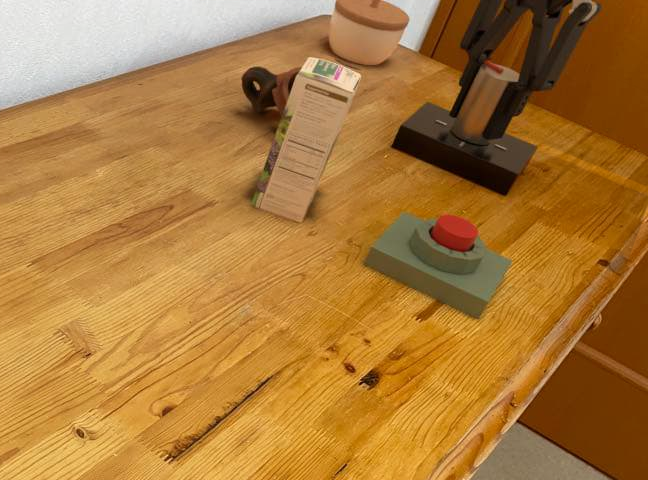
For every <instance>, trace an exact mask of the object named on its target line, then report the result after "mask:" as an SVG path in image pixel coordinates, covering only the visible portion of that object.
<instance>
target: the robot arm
mask: <svg viewBox="0 0 648 480" xmlns="http://www.w3.org/2000/svg"><path fill="white" fill-rule="evenodd" d="M502 3H503V7H502V9H501V10H500V11H499V9H500V7H501V5H502ZM570 4H572V5H571V8H569V9H568V10H567V11H568V14H569V15H568V17H567V18H566V19H565V21H564V22H563V24H562V26H561V27H560V29H559V32H558V33H557V35H556V37H555V39H554V41H553V38H554V35H555V32H556V27H557V26H558V25H559V24H560V23H561V19H562V16H563V13H564V9H565V8H566V7H567V6H569V5H570ZM601 10H602V4H601V2H599V1H593V0H479V1H478V3H477V7H476V9H475V10H474V12H473V15H472V17H471V18H470V19H471V20H470V22H469V23H468V26H467V27H466V30H465V32H464V34H463V36H462V38H461V41H460V43H459V47H460V49H461V50H463V51H465V53H466V54H467V57H468V60H467V63H466V65H465V67H464V70H463V72H462V74H461V76H460V78H459V80H458V86H459V87H461V88H460V90H459V92H458V94H457V96H456V99H455V100H454V103H453V105H452V107H451V109H450V113H449V116H451V117H452V118H456V117H457V115H458V113H459V111H460V108H461V106H462V104H463V102H464V100H465V98H466V96H467V94H468V92H469V90H470V88H471V86H472V83H473V81H474V79H475V77H476V75H477V73H478V71H479V69H480V67H481V65H482V64H485V62H486V61H491V60H493V57H492V55H493V54H494V53H495V51H496V50H497V49H498V47H499V46H500V45H501V44H502V42H503V41H504V39H505V38H506V37H507V36H508V34H509V33H510V31H512V29H513V27H514V26H515V25H516V24H517V22H518V21H519V20H520V19H521V17H522V16H523V14H525V13H526V12H528V11H530V12H531V13H532V14H533V15H532V18H531V24H532V28H531V32H530V35H529V39H528V43H527V46H526V49H525V50H526V51H525V54H524V56H523V61H522V65H521V68H520V72H519V74H520V75H519V79H518V82H517V84H513V85H509V87H508V89H507V91H506V93H505V95H504V97H503V99H502V101H501V102H500V104H499V106H498V108H497V110H496V112H495V114H494V116H493V118H492V120H491V122H490V124H489V126H488V128H487V130H486V132H485V134H484V136H483V138H485V139H486V140H492V139H499V138H502V137H503V135H504V133H506V131H507V129H508V127H509V125H510V123H511V121H512V120H513V118H514V117H515V118H516V117H519V116H520V115H522V114H523V111H524V110H525V108H526V105H527V104H528V102H529V100H530V98H531V97H532V94H533V93H534V92H545V91H551V90H554V88H555V86H556V84H557V83H558V80H559V79H560V76H561V75H562V73H563V71H564V69H565V67H566V66H567V63H568V62H569V60H570V57H571V56H572V54H573V52H574V51H575V48H576V46H577V44H578V43H579V40H580V39H581V37H582V35H583V33H584V32H585V30H586V27H587V26H588V25H589V23H591V22H592V20H593V19H594V18H595V17H596V16H598V14H599V13H600V12H601ZM498 11H499V13H498ZM552 42H553V43H552ZM551 44H552V45H551Z"/></svg>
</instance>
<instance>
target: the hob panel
mask: <svg viewBox="0 0 648 480" xmlns="http://www.w3.org/2000/svg"><path fill="white" fill-rule="evenodd" d="M450 111H451V109H450V110H449V109H447V108H445V107H442V106H440V105H437V104H435V103H432V102H430V101H426V102H425V103H424V104H423V105H422V106H420V108H418V109H416V111H415V112H414V113H412V114H411V115H410V116H409V117H408V118H406V120H404V121H403V122H402V123H401V124H400V125H399V127H398V129H397V132H396V134H395V137H394V139H393V142H392V143H391V148H392V149H395V150H397V151H399V152H402V153H404V154H406V155H409V156H411V157H413V158H416V159H418V160H420V161H423V162H425V163H427V164H430V165H432V166H434V167H437V168H439V169H442V170H444V171H446V172H449V173H451V174H453V175H455V176H457V177H459V178H462V179H465V180H466V181H470V182H471V183H474V184H476V185H479V186H481V187H482V188H485V189H488V190H489V191H492V192H495V193H497V194H499V195H502V196H504V197H507V196H508V194H509V193H510V191H511V190H512V189H513V187H514V185H515V184H516V183H517V181H518V180H519V179H520V177H521V176H522V174H523V173H524V171H525V170H526V169H527V167H528V165H529V163H530V162H531V160H532V159H533V157H534V155H535V153H536V151H537V149H539V148H538V146H537V145H536V144H533V143H530V142H528V141H526V140H523V139H521V138H518V137H515V136H513V135H512V134H511V135H510V134H508V133H506V132H505V133H504V135H503V137H502V138H499V139H492V140H491V142H490V143H489V144H487V145H478V144H473V143H469V142H467V141H464V140H462V139H460V138H458V137H457V136H456V135H454V134H453V133H452V131H451V127H452V125H453V123H454V121H455V119H456V118H452V117H451V116H449V113H450Z"/></svg>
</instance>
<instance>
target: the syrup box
mask: <svg viewBox="0 0 648 480" xmlns="http://www.w3.org/2000/svg"><path fill="white" fill-rule="evenodd" d="M301 67H302V68H301V70H300V71H299V73H298V75H297V76H296V78H295V81H294V84H293V86H292V89H291V92H290V95H289V98H288V101H287V104H286V106H285V109H284V112H283V115H282V116H281V117H280V120H279V124H278V126H277V128H276V130H277V132H276V131H275V133H276V135H275V134H274V138H273V141H272V143H271V146H270V149H269V152H268V155H267V158H266V160H265V163H264V166H263V169H262V172H261V175H260V177H259V181H258V183H257V186H256V189H255V192H254V195H253V197H252V201H251V203H250V205H251V207H252V208H254V209H257V210H260V211H264V212H266V213H269V214H272V215H274V216H277V217H280V218H284V219H287V220H290V221H292V222H296V223H298V224H303V222H304V219H305V217H306V215H307V213H308V210H309V208H310V206H311V204H312V202H313V199H314V197H315V194H316V192H317V189H318V187H319V185H320V182H321V180H322V178H323V175H324V172H325V170H326V167H327V164H328V163H329V160H330V157H331V155H332V152H333V150H334V148H335V145H336V143H337V140H338V138H339V135H340V132H341V131H342V127H343V125H344V123H345V120H346V117H347V115H348V112H349V110H350V108H351V105H352V103H353V100H354V98H355V96H356V95H355V94H356V92H357V89H358V87H359V85H360V82H361V79H362V77H363V76H362V75H361V74H360V73H359V72H356V71H355V70H354V69H353V70H352V69H351V68H349V67H347V66H345V65H342V64H338V63H335V62H333V61H330V60H326V59H323V58H318V57H311V56H308V57H307V58H306V61H305V62H304V63H303V65H302V66H301Z"/></svg>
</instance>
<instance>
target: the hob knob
mask: <svg viewBox="0 0 648 480" xmlns="http://www.w3.org/2000/svg"><path fill="white" fill-rule="evenodd" d="M484 63H485V64H482V65H481V67H480V69H479V71H478V73H477V75H476V77H475V79H474V81H473V83H472V86H471V88H470V90H469V92H468V94H467V96H466V98H465V100H464V102H463V104H462V106H461V108H460V111H459V113H458V115H457V117H456V119H455V121H454V123H453V125H452V127H451V131H452V133H453V134H454V135H456V136H457V137H458V138H460V139H462V140H464V141H467V142H469V143H473V144H478V145H487V144H489V143H490V142H491V140H486V139H485V138H483V136H484V134H485V132H486V130H487V128H488V126H489V124H490V122H491V120H492V118H493V116H494V114H495V112H496V110H497V108H498V106H499V104H500V102H501V101H502V99H503V97H504V95H505V93H506V91H507V89H508V87H509V85H513V84H517V82H518V79H519V75H520V73H518V72H517V71H515V70H513V69H512V68H509V67H507V66H504V65H501V64H500V65H499V64H496V63H494V62H492V61H491V60H488V61H485V62H484Z"/></svg>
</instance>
